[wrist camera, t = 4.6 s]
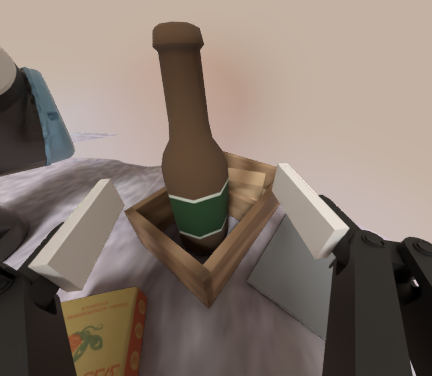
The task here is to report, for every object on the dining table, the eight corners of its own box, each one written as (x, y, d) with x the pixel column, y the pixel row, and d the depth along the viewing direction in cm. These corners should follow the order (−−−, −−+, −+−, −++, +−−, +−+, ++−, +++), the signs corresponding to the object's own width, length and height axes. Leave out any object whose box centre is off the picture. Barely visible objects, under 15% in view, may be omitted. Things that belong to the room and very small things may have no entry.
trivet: (246, 282, 20) (247, 280, 20) (286, 215, 28) (287, 212, 28) (400, 396, 13) (405, 396, 12) (391, 261, 21) (394, 259, 21)
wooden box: (141, 242, 25) (123, 211, 21) (223, 178, 38) (223, 151, 34) (208, 308, 18) (203, 281, 14) (281, 201, 31) (290, 171, 27)
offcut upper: (216, 191, 30) (215, 178, 28) (223, 179, 33) (223, 166, 31) (260, 200, 27) (262, 186, 25) (263, 186, 30) (265, 173, 28)
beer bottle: (202, 269, 21) (153, -1, 7) (170, 236, 26) (97, 29, 11) (237, 233, 26) (253, 21, 11) (204, 210, 30) (185, 36, 16)
